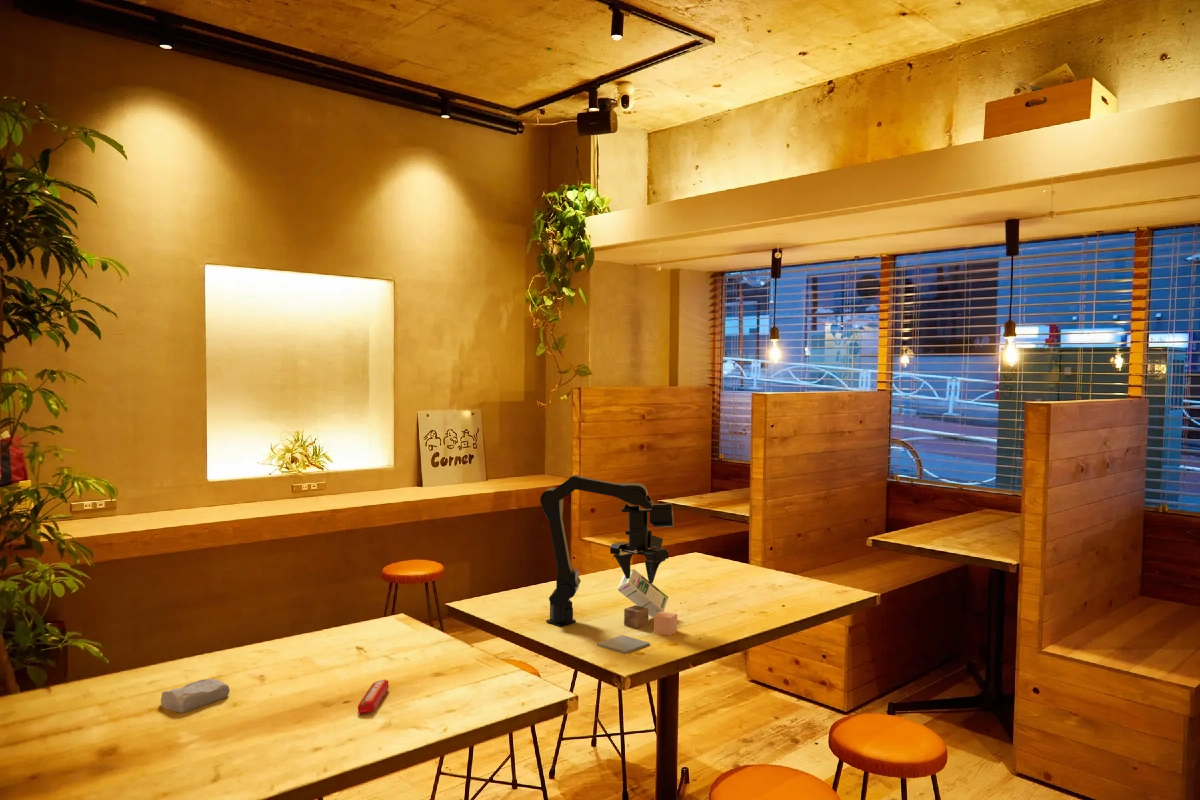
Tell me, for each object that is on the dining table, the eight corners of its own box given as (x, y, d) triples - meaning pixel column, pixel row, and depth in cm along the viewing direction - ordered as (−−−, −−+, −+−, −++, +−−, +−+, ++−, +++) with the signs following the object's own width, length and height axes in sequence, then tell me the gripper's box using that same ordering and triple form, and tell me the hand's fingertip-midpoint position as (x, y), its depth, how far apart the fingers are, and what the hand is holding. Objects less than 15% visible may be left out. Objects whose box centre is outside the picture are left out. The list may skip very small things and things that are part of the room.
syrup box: (664, 611, 241) (628, 582, 239) (651, 618, 245) (616, 589, 242) (669, 597, 246) (633, 567, 243) (656, 604, 249) (621, 575, 247)
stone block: (156, 714, 178) (182, 715, 173) (154, 692, 179) (180, 692, 174) (207, 698, 188) (233, 698, 183) (205, 677, 189) (231, 677, 184)
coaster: (597, 645, 219) (597, 643, 219) (621, 636, 227) (621, 634, 227) (625, 654, 213) (625, 651, 213) (649, 644, 220) (649, 642, 220)
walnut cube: (624, 625, 237) (624, 608, 237) (635, 622, 241) (635, 605, 241) (637, 629, 234) (637, 612, 234) (648, 625, 238) (648, 608, 238)
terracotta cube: (653, 633, 230) (654, 615, 230) (660, 628, 235) (661, 611, 235) (670, 636, 228) (670, 618, 228) (677, 631, 233) (677, 613, 232)
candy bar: (374, 689, 189) (374, 676, 189) (390, 689, 189) (390, 676, 189) (355, 718, 173) (355, 704, 173) (372, 718, 173) (372, 704, 173)
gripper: (680, 526, 235) (682, 580, 235) (634, 520, 249) (635, 571, 249) (654, 531, 228) (655, 587, 228) (608, 525, 241) (609, 578, 241)
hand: (639, 580), depth 237 cm, fingers open, 9 cm apart
